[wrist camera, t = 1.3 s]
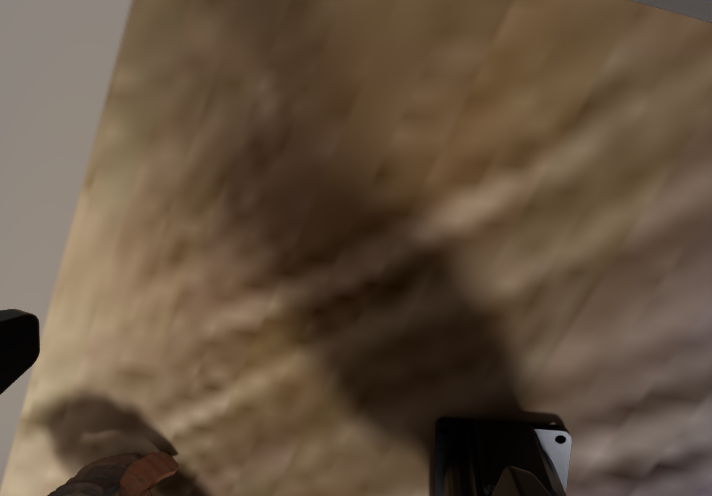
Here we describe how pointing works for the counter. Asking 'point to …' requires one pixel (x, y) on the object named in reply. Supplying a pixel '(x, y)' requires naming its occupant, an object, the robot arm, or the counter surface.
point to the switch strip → (684, 7)
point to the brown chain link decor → (120, 475)
